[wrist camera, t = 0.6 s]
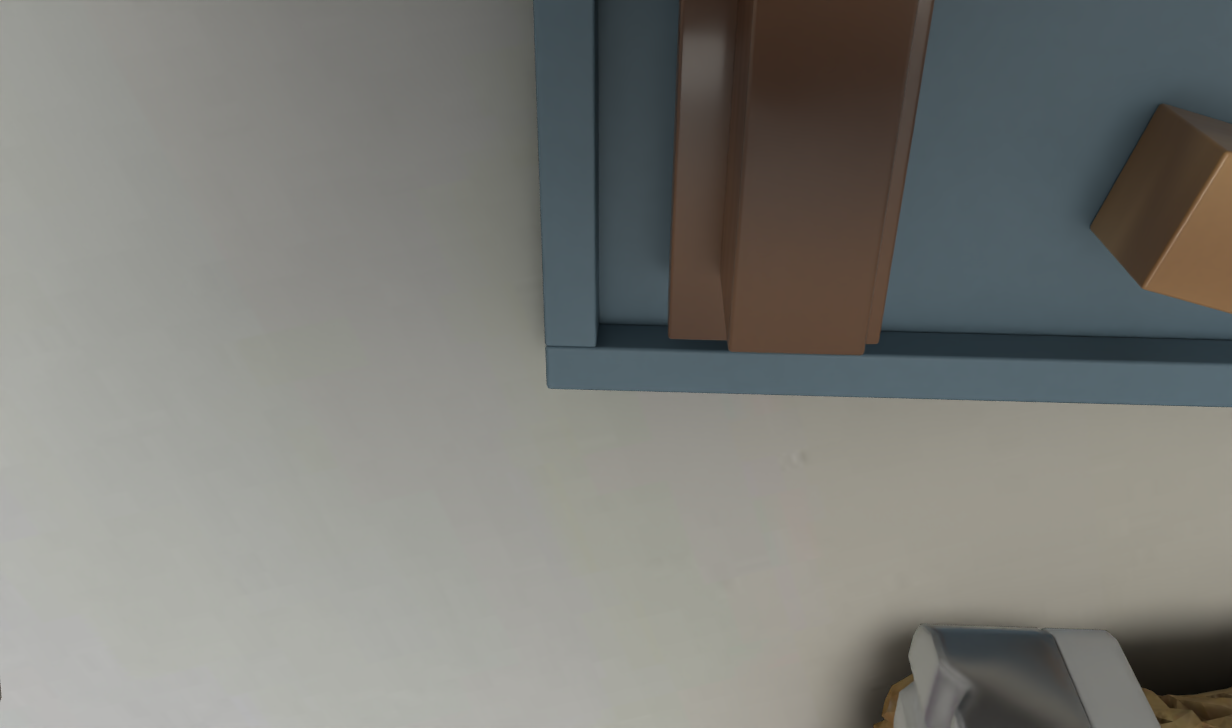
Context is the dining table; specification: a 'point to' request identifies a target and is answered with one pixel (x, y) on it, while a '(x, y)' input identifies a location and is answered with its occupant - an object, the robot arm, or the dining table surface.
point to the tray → (929, 217)
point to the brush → (790, 168)
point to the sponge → (1190, 724)
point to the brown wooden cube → (1175, 209)
